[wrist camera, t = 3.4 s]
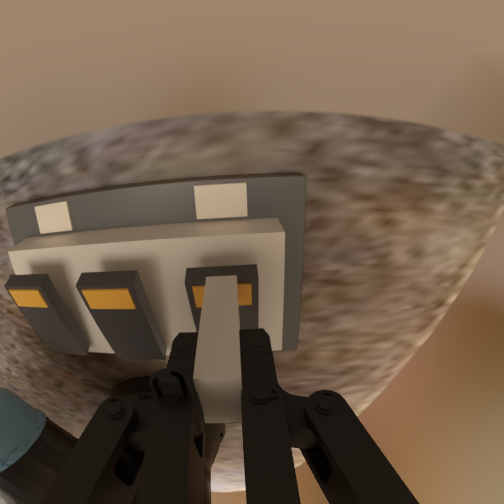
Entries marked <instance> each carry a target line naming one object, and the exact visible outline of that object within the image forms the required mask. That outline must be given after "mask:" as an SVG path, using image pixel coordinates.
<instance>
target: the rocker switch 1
mask: <svg viewBox="0 0 504 504" xmlns="http://www.w3.org/2000/svg"><path fill="white" fill-rule="evenodd" d="M5 288H6V290H7V291H8V293H9V294H10V296H11V298H12V299H13V301H14V302H15V304H16V305H17V307H18V308H19V310H20V311H21V312H22V314H23V315H24V317H25V318H26V319H27V321H28V322H29V324H30V325H31V326H32V328H33V329H34V330H35V332H36V333H37V334H38V336H39V337H40V338H41V339H42V341H43V342H44V343H45V344H46V346H47V347H48V348H49V349H50V351H51V352H57V353H66V354H75V355H85V356H87V354H88V350H89V347H90V343H89V341H88V340H87V339H86V337H85V336H84V334H83V333H82V331H81V330H80V328H79V327H78V325H77V323H76V322H75V320H74V319H73V317H72V316H71V314H70V312H69V311H68V309H67V307H66V306H65V304H64V302H63V301H62V299H61V297H60V296H59V294H58V292H57V290H56V289H55V287H54V285H53V283H52V281H51V279H50V278H49V276H48V274H26V275H11V276H10V278H9V279H8V281H7V283H6V284H5Z"/></svg>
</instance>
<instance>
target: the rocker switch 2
mask: <svg viewBox="0 0 504 504" xmlns="http://www.w3.org/2000/svg"><path fill="white" fill-rule="evenodd" d="M76 288H77V290H78V292H79V294H80V296H81V297H82V299H83V301H84V303H85V305H86V307H87V308H88V310H89V312H90V314H91V315H92V317H93V319H94V321H95V322H96V324H97V326H98V327H99V329H100V331H101V332H102V334H103V335H104V337H105V339H106V340H107V342H108V343H109V345H110V346H111V348H112V350H113V351H114V353H115V354H116V356H117V357H118V358H129V359H163V360H165V358H166V349H167V346H166V344H165V341H164V339H163V336H162V334H161V332H160V329H159V327H158V324H157V322H156V319H155V317H154V314H153V311H152V309H151V306H150V304H149V301H148V298H147V296H146V293H145V290H144V287H143V285H142V282H141V279H140V276H139V273H138V270H132V271H109V272H84V273H81V275H80V277H79V279H78V281H77V283H76Z"/></svg>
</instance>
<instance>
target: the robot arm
mask: <svg viewBox="0 0 504 504" xmlns="http://www.w3.org/2000/svg"><path fill="white" fill-rule="evenodd" d="M239 422H242V432H243V450H244V468H245V484H246V500H247V504H301V503H300V497H299V491H298V485H297V479H296V474H295V468H294V462H293V456H292V450H291V447H294V448H300V450H301V452H302V454H303V456H304V458H305V460H306V462H307V464H308V465H309V467H310V469H311V471H312V473H313V474H314V477H315V478H316V480H317V482H318V484H319V486H320V488H321V489H322V491H323V493H324V495H325V497H326V498H327V500H328V502H329V504H419V503H418V501H417V500H416V499H415V497H414V496H413V494H412V493H411V492H410V490H409V489H408V488H407V486H406V485H405V483H404V482H403V481H402V479H401V478H400V476H399V475H398V474H397V472H396V471H395V469H394V468H393V467H392V465H391V464H390V462H389V461H388V460H387V458H386V457H385V456H384V454H383V453H382V451H381V450H380V449H379V447H378V446H377V445H376V443H375V442H374V440H373V439H372V438H371V436H370V435H369V433H368V432H367V430H366V429H365V428H364V426H363V425H362V423H361V422H360V421H359V419H358V418H357V416H356V415H355V413H354V412H353V411H352V409H351V408H350V406H349V405H348V404H347V402H346V401H345V399H344V398H343V397H342V396H341V395H340V394H339V393H336V392H334V391H330V390H321V391H317V392H315V393H313V394H311V395H310V396H309V397H302V396H296V395H292V394H289V393H287V392H285V391H284V390H283V389H282V388H281V387H280V386H279V384H278V381H277V376H276V370H275V365H274V359H273V354H272V347H271V342H270V336H269V335H268V333H267V332H266V331H265V330H264V329H263V328H258V329H242V330H240V319H239V304H238V289H237V275H232V276H212V277H206V282H205V289H204V296H203V303H202V310H201V317H200V325H199V332H179V334H178V335H177V336H176V337H175V338H174V340H173V342H172V347H171V351H170V356H169V360H168V365H167V368H166V369H162V370H159V371H157V372H156V373H155V374H153V375H152V376H151V378H150V377H145V378H135V379H130V380H127V381H124V382H122V383H120V384H119V385H118V386H116V388H115V389H114V390H113V392H112V395H111V397H110V398H108V399H106V400H104V402H103V403H102V404H101V405H100V406H99V408H98V409H97V411H96V412H95V414H94V416H93V417H92V419H91V420H90V422H89V423H88V425H87V427H86V428H85V430H84V431H83V433H82V435H81V436H80V438H79V439H78V438H76V437H74V436H73V435H71V434H70V433H68V432H67V431H65V430H64V429H62V428H61V427H59V426H58V425H56V424H55V423H54V422H52V421H51V420H49V419H48V418H47V417H46V416H45V414H44V413H43V412H42V411H40V410H38V409H35V408H33V407H32V406H30V405H29V404H27V403H26V402H25V401H23V400H22V399H21V398H19V397H18V396H17V395H16V394H14V393H13V392H12V391H10V390H8V389H6V388H2V387H0V504H211V467H212V464H213V462H214V460H215V457H216V455H217V452H218V449H219V445H220V442H221V441H222V440H223V437H224V435H225V423H239Z"/></svg>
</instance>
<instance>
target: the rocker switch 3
mask: <svg viewBox="0 0 504 504" xmlns="http://www.w3.org/2000/svg"><path fill="white" fill-rule="evenodd" d="M232 275H237V289H238V304H239V319H240V330H242V329H258V315H259V278H258V270H257V264H250V265H232V266H214V267H195V268H186V275H185V282H184V283H185V287H186V291H187V296H188V300H189V304H190V308H191V312H192V316H193V320H194V324H195V327H196V331H197V332H199V325H200V317H201V310H202V303H203V296H204V289H205V282H206V277H212V276H232Z"/></svg>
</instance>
